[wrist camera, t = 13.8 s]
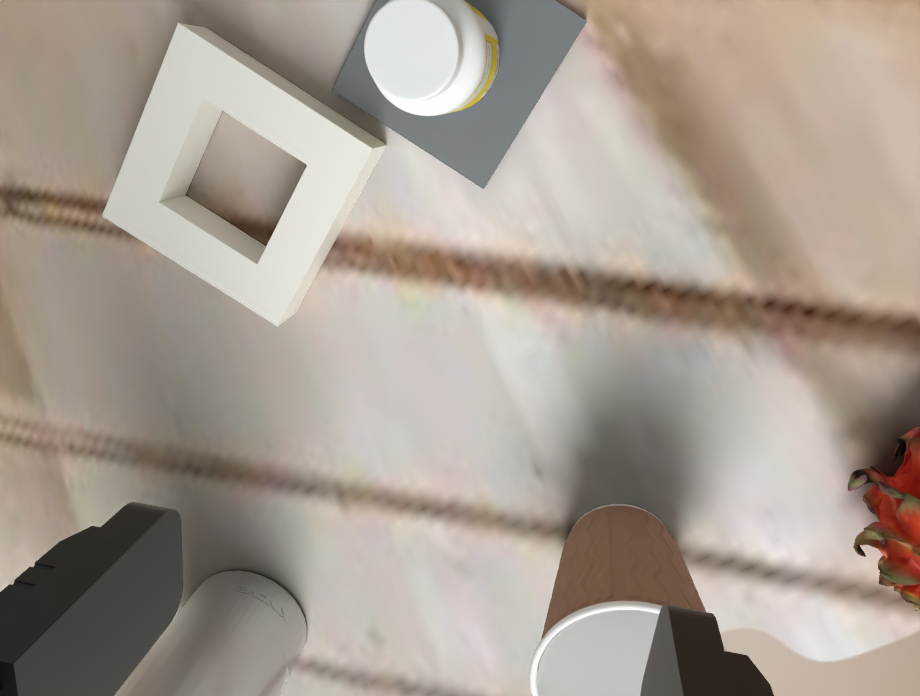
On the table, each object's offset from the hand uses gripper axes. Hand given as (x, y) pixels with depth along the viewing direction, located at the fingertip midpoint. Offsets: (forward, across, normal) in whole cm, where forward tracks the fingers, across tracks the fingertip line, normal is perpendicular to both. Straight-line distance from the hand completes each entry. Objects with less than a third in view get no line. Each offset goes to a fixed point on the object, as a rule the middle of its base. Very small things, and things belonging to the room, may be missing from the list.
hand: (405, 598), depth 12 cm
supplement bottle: (+31, +6, -9) cm, 33 cm away
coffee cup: (+32, -9, +19) cm, 39 cm away
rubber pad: (+32, +5, -9) cm, 33 cm away
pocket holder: (+32, +17, -2) cm, 36 cm away
